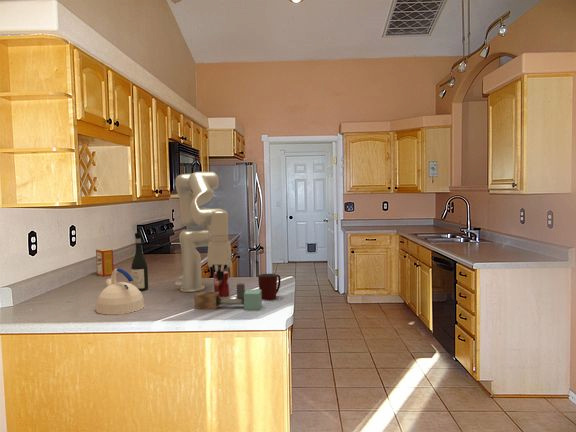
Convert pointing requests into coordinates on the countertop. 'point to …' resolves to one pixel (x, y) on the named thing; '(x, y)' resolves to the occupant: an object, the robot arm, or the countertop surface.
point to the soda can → (222, 285)
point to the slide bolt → (233, 300)
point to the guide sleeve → (206, 300)
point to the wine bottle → (139, 267)
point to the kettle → (119, 296)
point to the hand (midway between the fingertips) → (220, 279)
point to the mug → (268, 286)
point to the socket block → (252, 300)
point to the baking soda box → (104, 262)
